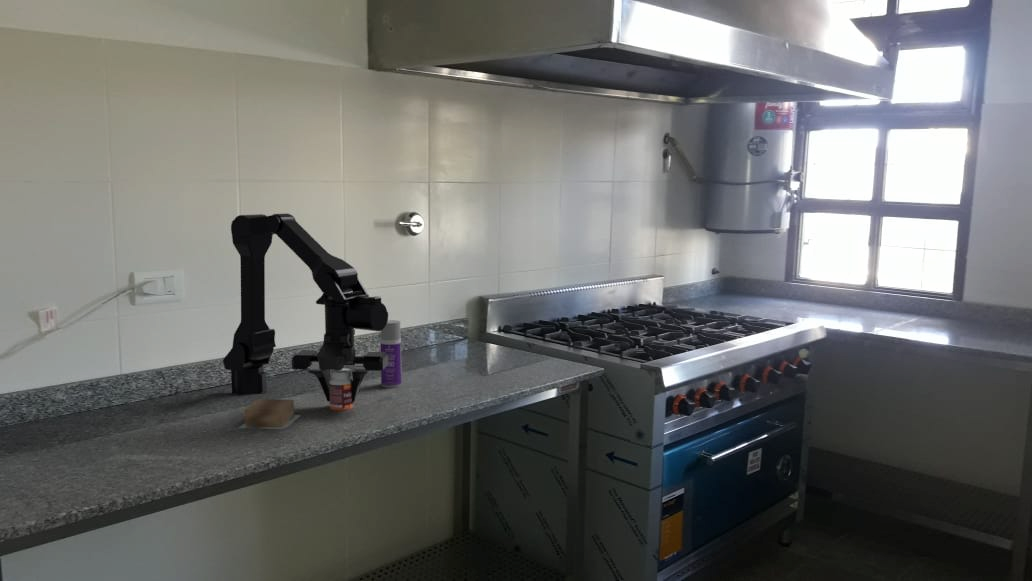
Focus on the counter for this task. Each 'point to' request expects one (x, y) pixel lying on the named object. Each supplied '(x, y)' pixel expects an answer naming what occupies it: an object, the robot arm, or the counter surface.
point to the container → (391, 354)
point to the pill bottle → (340, 389)
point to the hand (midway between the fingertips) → (341, 401)
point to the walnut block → (269, 413)
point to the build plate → (273, 427)
